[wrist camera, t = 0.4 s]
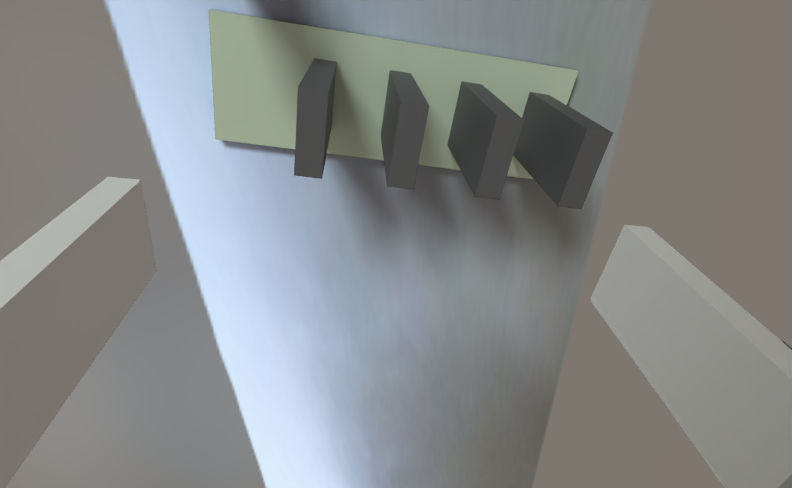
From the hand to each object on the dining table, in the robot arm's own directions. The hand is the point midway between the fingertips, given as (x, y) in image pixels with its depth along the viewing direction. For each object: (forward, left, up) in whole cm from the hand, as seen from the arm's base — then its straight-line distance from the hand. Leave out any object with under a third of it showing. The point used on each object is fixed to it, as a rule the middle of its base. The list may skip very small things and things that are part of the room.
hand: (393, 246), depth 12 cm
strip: (+2, +2, -24) cm, 25 cm away
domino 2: (+2, +2, -24) cm, 24 cm away
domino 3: (+2, +7, -24) cm, 25 cm away
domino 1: (+2, -4, -24) cm, 24 cm away
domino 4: (+2, +13, -24) cm, 27 cm away
